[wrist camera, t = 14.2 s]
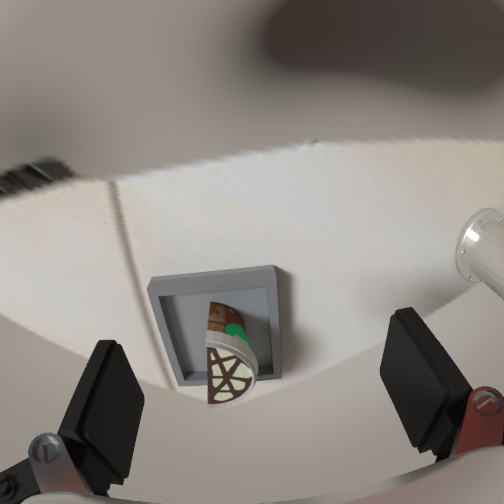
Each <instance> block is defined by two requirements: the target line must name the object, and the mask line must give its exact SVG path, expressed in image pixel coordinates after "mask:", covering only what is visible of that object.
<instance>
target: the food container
mask: <svg viewBox="0 0 504 504" xmlns="http://www.w3.org/2000/svg"><path fill="white" fill-rule="evenodd" d="M205 341H206V342H205V347H207V380H208V381H207V383H208V396H207V410H216V409H223V408H228V407H231V406H233V405H236V404H238V403H240V402H241V401H243V400H244V399H245V398H246V397H247V396H248V395H249V394H250V393H251V391H252V389H253V387H254V385H255V382H256V378H257V374H258V363H257V359H256V357H255V355H254V353H253V352H252V351H251V349H250V348H249V343H248V337H247V332H246V326H245V322H244V320H243V318H242V317H241V315H240V314H239V313H238V312H237V311H236V310H234V309H233V308H231V307H230V306H228V305H225V304H223V303H218V302H211V301H210V308H209V316H208V325H207V330H206V340H205Z"/></svg>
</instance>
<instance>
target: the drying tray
mask: <svg viewBox="0 0 504 504" xmlns="http://www.w3.org/2000/svg"><path fill="white" fill-rule="evenodd" d="M147 291H148V295H149V298H150V302H151V305H152V308H153V312H154V315H155V318H156V321H157V325H158V328H159V331H160V334H161V337H162V340H163V343H164V346H165V349H166V352H167V355H168V358H169V361H170V363H171V366H172V369H173V372H174V374H175V377H176V380H177V383H178V385H179V386H200V385H208V383H207V381H208V380H207V347H205V342H206V341H205V340H206V330H207V325H208V316H209V308H210V301H211V302H218V303H223V304H225V305H228V306H230V307H231V308H233V309H234V310H236V311H237V312H238V313H239V314H240V315H241V317H242V318H243V320H244V322H245V326H246V332H247V337H248V343H249V348H250V349H251V351H252V352H253V353H254V355H255V357H256V359H257V363H258V374H257V378H256V381H263V380H272V379H281V378H282V366H281V347H280V328H279V311H278V294H277V278H276V273H275V269H274V265H267V266H258V267H248V268H239V269H229V270H220V271H210V272H200V273H190V274H180V275H170V276H160V277H152V278H151V281H150V283H149V285H148V287H147Z"/></svg>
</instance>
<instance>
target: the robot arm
mask: <svg viewBox="0 0 504 504" xmlns="http://www.w3.org/2000/svg"><path fill="white" fill-rule="evenodd" d="M456 264H457V268H458V270H459V272H460V274H461V275H462V276H463V277H464V278H465V279H466V280H468V281H471V282H477V281H481V280H482V281H483V282H484V283H485V284H486V285H488V286H489V287H490V288H491V289H492V290H493V291H494V292H495V293H496V294H498V295H499V296H500V297H501V298H502V299H503V300H504V215H503V214H502V213H501V212H499V211H497V210H494V209H486V210H483V211H481V212H479V213H478V214H476V215H475V216H474V217H473V218H472V219H471V220H470V221H469V223H468V224H467V225H466V227H465V229H464V230H463V232H462V235H461V237H460V240H459V243H458V246H457V251H456ZM380 376H381V379H382V381H383V383H384V385H385V387H386V389H387V391H388V394H389V396H390V398H391V400H392V402H393V404H394V406H395V409H396V411H397V413H398V415H399V417H400V419H401V422H402V424H403V426H404V429H405V431H406V433H407V435H408V438H409V440H410V442H411V444H412V446H413V447H417V449H418V451H419V453H423V452H426V451H428V450H432V452H433V454H434V458H433V461H432V463H431V465H429V466H426V467H423V468H420V469H417V470H414V471H412V472H409V473H406V474H403V475H400V476H396V477H393V478H390V479H387V480H383V481H380V482H376V483H373V484H369V485H366V486H361V487H357V488H354V489H349V490H345V491H340V492H335V493H331V494H325V495H320V496H315V497H309V498H303V499H295V500H288V501H280V502H270V503H260V504H504V397H503V395H502V394H501V393H500V392H499V391H498V390H496V389H495V388H492V387H488V386H482V387H478V388H476V389H474V390H473V389H472V387H471V386H470V385H469V383H468V382H467V380H466V379H465V377H464V376H463V374H462V373H461V372H460V370H459V369H458V367H457V366H456V364H455V363H454V362H453V360H452V359H451V357H450V356H449V354H448V353H447V352H446V350H445V349H444V348H443V346H442V345H441V344H440V342H439V341H438V340H437V339H436V338H435V336H434V335H433V333H432V332H431V331H430V329H429V328H428V327H427V325H426V324H425V323H424V321H423V320H422V319H421V318H420V316H419V315H418V314H417V312H416V311H415V310H414V309H413V308H412V307H408V308H403V309H398V310H396V311H395V314H394V315H392V316H391V318H390V323H389V328H388V334H387V338H386V343H385V349H384V353H383V357H382V361H381V366H380ZM143 406H144V394H143V392H142V390H141V388H140V386H139V383H138V381H137V379H136V377H135V375H134V373H133V371H132V368H131V366H130V364H129V362H128V359H127V357H126V355H125V353H124V350H123V348H122V346H121V345H120V344H117V342H116V341H115V340H99V341H98V343H97V344H96V346H95V349H94V351H93V353H92V355H91V357H90V359H89V361H88V363H87V366H86V368H85V370H84V372H83V374H82V376H81V378H80V381H79V383H78V385H77V388H76V390H75V392H74V394H73V397H72V399H71V401H70V404H69V406H68V408H67V411H66V413H65V416H64V418H63V421H62V423H61V425H60V428H59V431H58V433H57V434H54V433H51V432H50V433H43V434H40V435H38V436H37V437H36V438H34V440H33V441H32V442H31V444H30V446H29V450H28V455H29V458H27V459H25V460H23V461H21V462H20V463H18V464H16V465H14V466H12V467H10V468H8V469H6V470H4V471H3V472H1V473H0V504H161V503H150V502H141V501H132V500H124V499H117V498H114V497H113V495H112V494H111V492H110V491H109V488H110V484H111V483H112V484H119V485H123V482H124V478H127V477H128V476H129V471H130V466H131V461H132V456H133V451H134V446H135V442H136V437H137V432H138V428H139V424H140V419H141V415H142V410H143Z"/></svg>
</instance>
